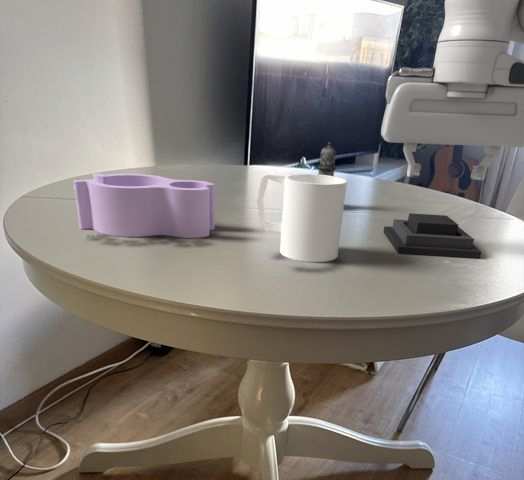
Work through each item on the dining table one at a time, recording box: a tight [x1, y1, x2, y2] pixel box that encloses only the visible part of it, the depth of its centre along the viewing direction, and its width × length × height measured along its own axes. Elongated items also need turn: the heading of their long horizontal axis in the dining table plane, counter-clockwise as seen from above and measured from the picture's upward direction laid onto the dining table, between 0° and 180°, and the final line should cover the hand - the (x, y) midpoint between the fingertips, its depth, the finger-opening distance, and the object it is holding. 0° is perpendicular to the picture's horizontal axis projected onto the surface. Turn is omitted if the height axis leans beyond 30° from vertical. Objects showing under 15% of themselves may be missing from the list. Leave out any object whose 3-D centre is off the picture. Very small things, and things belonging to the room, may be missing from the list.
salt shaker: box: [317, 141, 337, 177], centre depth 93 cm, size 6×6×12 cm
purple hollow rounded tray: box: [73, 173, 216, 239], centre depth 74 cm, size 20×12×7 cm, turn 83°
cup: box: [256, 173, 348, 263], centre depth 66 cm, size 8×12×10 cm
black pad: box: [407, 212, 459, 236], centre depth 74 cm, size 6×6×3 cm
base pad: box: [383, 219, 483, 259], centre depth 74 cm, size 12×12×2 cm
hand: (444, 178), depth 70 cm, fingers open, 8 cm apart
